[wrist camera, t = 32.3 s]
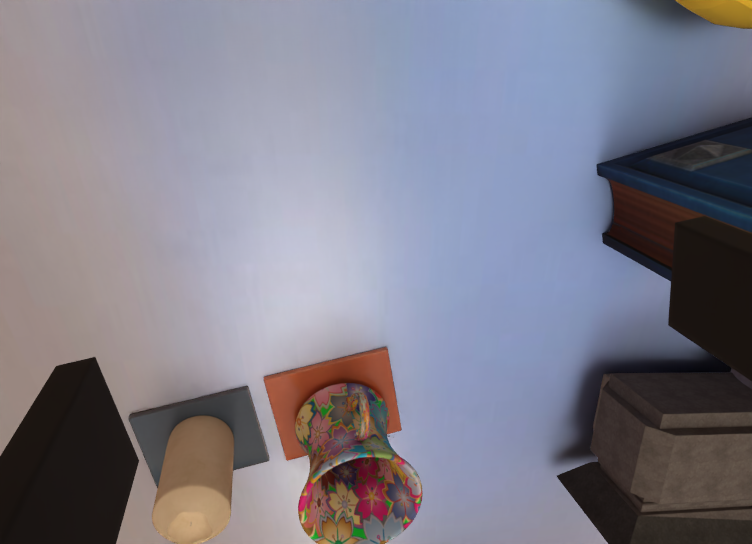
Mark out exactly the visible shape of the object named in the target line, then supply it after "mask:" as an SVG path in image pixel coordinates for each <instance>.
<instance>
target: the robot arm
mask: <svg viewBox="0 0 752 544" xmlns="http://www.w3.org/2000/svg"><path fill="white" fill-rule="evenodd" d="M668 325H669V326H670V327H672V328H673V329H675V330H676V331H678V332H679V333H681V334H682V335H684V336H685V337H687V338H688V339H690V340H691V341H693V342H694V343H696V344H697V345H699V346H700V347H702V348H703V349H705V350H706V351H707V352H709V353H710V354H712V355H713V356H715V357H716V358H718V359H719V360H721V361H722V362H724V363H725V364H727V365H728V366H730V367H731V368H733V369H734V370H736V371H737V372H739V373H740V374H742V375H743V376H744V377H746V378H747V379H749V380H750V381H752V234H751V233H748V232H746V231H743V230H740V229H738V228H735V227H732V226H730V225H727V224H724V223H722V222H719V221H717V220H714V219H711V218H709V217H706V216H702V217H698V218H693V219H689V220H685V221H680V222H676V223H675V230H674V245H673V261H672V277H671V292H670V308H669V323H668ZM138 462H139V460H138V457H137V455H136V452H135V450H134V448H133V445H132V443H131V441H130V438H129V436H128V434H127V431H126V429H125V426H124V424H123V422H122V419H121V417H120V415H119V412H118V410H117V408H116V405H115V403H114V401H113V398H112V396H111V393H110V391H109V389H108V386H107V384H106V382H105V379H104V377H103V375H102V372H101V370H100V367H99V365H98V363H97V360H96V358H95V357H93V358H89V359H84V360H80V361H76V362H71V363H67V364H63V365H59V366H56V367H55V369H54V370H53V372H52V374H51V375H50V377H49V378H48V380H47V382H46V383H45V385H44V387H43V388H42V390H41V391H40V393H39V395H38V396H37V398H36V400H35V401H34V403H33V404H32V406H31V408H30V409H29V411H28V412H27V414H26V416H25V417H24V419H23V421H22V422H21V424H20V425H19V427H18V429H17V430H16V432H15V434H14V435H13V437H12V438H11V440H10V442H9V443H8V445H7V446H6V448H5V450H4V451H3V453H2V455H1V456H0V544H116V541H117V538H118V534H119V531H120V527H121V523H122V520H123V516H124V513H125V509H126V505H127V502H128V498H129V495H130V491H131V487H132V484H133V480H134V477H135V473H136V469H137V466H138Z"/></svg>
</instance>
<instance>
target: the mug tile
mask: <svg viewBox="0 0 752 544" xmlns="http://www.w3.org/2000/svg"><path fill="white" fill-rule="evenodd" d="M264 383H265V386H266V390H267V393H268V397H269V400H270V404H271V407H272V411H273V414H274V418H275V421H276V425H277V428H278V432H279V435H280V439H281V442H282V446H283V449H284V453H285V456H286V460H287V461H288V460H291V459H295V458H299V457H303V456H306V455H308V454H307V453H306V452H305V451H304V450H303V449H302V448H301V446H300V444H299V442H298V440H297V437H296V433H295V424H296V419H297V416H298V413H299V411H300V409H301V407H302V406H303V405H304V403H305V402H306V401H307V400H308V399H309V398H310V397H311V396H312V395H314V394H315V393H316V392H318V391H320V390H322V389H324V388H326V387H328V386H331V385H335V384H340V383H355V384H360V385H364V386H366V387H369V388H371V389H372V390H374V391H375V392H377V393H378V394H379V395H380V396H381V397H382V399H383V400H384V401H385V403H386V405H387V407H388V410H389V427H388V431H387V434H390V433H393V432H397V431H401V430H402V429H401V424H400V418H399V412H398V406H397V400H396V395H395V389H394V383H393V377H392V371H391V366H390V360H389V354H388V349H387V347H384V348H380V349H375V350H371V351H367V352H363V353H359V354H355V355H351V356H347V357H343V358H339V359H335V360H330V361H326V362H322V363H318V364H314V365H310V366H306V367H302V368H298V369H294V370H290V371H285V372H281V373H277V374H273V375H269V376H265V377H264Z"/></svg>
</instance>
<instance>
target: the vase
mask: <svg viewBox="0 0 752 544" xmlns="http://www.w3.org/2000/svg"><path fill="white" fill-rule="evenodd" d="M675 1H677V2H678V3H679V4H681V5H682V6H684V7H685V8H687V9H688V10H690V11H692V12H693V13H695V14H697V15H699V16H701V17H702V18H704V19H706V20H708V21H709V22H711V23H713V24H717V25H723V26H729V27H736V28H742V29H752V0H675Z"/></svg>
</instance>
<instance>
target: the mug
mask: <svg viewBox="0 0 752 544" xmlns="http://www.w3.org/2000/svg"><path fill="white" fill-rule="evenodd" d="M388 427H389V410H388V407H387V405H386V403H385V401H384V400H383V399H382V397H381V396H380V395H379V394H378V393H377V392H375V391H374V390H372V389H371V388H369V387H366V386H364V385H360V384H355V383H340V384H335V385H331V386H328V387H326V388H324V389H322V390H320V391H318V392H316V393H315V394H314V395H312V396H311V397H310V398H309V399H308V400H307V401H306V402H305V403H304V405H303V406H302V407H301V409H300V411H299V413H298V416H297V419H296V424H295V433H296V437H297V440H298V442H299V444H300V446H301V448H302V449H303V450H304V451H305V452H306V453H307V454H308V456H309V460H310V472H309V477H308V480H307V483H306V485H305V487H304V489H303V491H302V493H301V496H300V500H299V506H298V514H299V519H300V523H301V525H302V527H303V529H304V531H305V532H306V533H307V535H308V536H309V537H310V538H311V539H312V540H314V541H315V542H316V543H318V544H385V543H387V542H389V541H390V540H392V539H394V538H395V537H397V536H398V535H399V534H401V533H402V532H403V531H404V530H405V529H406V528H407V527H408V526H409V525H410V524H411V522H412V521H413V520H414V518H415V516H416V515H417V513H418V511H419V508H420V505H421V501H422V484H421V481H420V478H419V476H418V474H417V472H416V471H415V469H414V468H413V467H412V466H411V465H410V464H409V463H408V462H407V461H405V460H404V459H402V458H401V457H400V456H399V455H397V454H396V452H395V451H394V450H393V449H392V447H391V445H390V443H389V441H388V438H387V431H388Z"/></svg>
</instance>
